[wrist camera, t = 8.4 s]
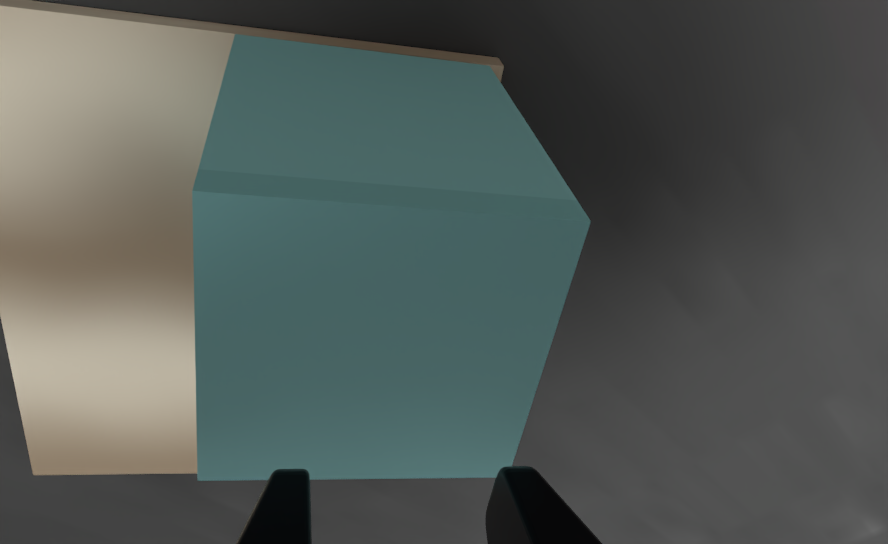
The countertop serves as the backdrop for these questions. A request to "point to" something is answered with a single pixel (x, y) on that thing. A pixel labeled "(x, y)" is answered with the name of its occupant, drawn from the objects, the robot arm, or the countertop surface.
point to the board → (110, 225)
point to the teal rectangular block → (371, 266)
